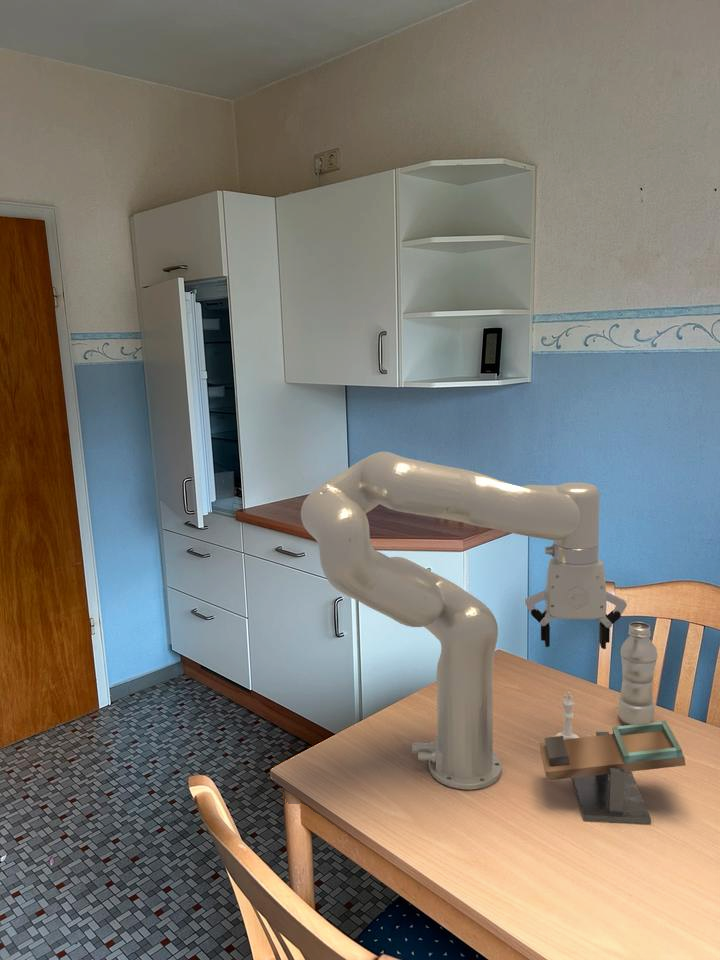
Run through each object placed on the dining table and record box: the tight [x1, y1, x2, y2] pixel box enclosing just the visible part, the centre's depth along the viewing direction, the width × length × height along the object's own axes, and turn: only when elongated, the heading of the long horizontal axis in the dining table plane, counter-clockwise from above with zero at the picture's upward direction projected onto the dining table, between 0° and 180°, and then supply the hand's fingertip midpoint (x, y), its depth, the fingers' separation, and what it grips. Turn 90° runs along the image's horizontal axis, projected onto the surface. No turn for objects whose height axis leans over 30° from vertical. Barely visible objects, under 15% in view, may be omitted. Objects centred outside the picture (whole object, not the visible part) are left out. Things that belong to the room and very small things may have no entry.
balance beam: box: [538, 720, 686, 782], centre depth 116 cm, size 21×9×4 cm, turn 83°
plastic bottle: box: [617, 621, 658, 725], centre depth 138 cm, size 6×7×20 cm
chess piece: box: [554, 691, 581, 739], centre depth 133 cm, size 5×5×10 cm
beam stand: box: [571, 731, 652, 825], centre depth 117 cm, size 10×13×8 cm
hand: (574, 644), depth 129 cm, fingers open, 9 cm apart
